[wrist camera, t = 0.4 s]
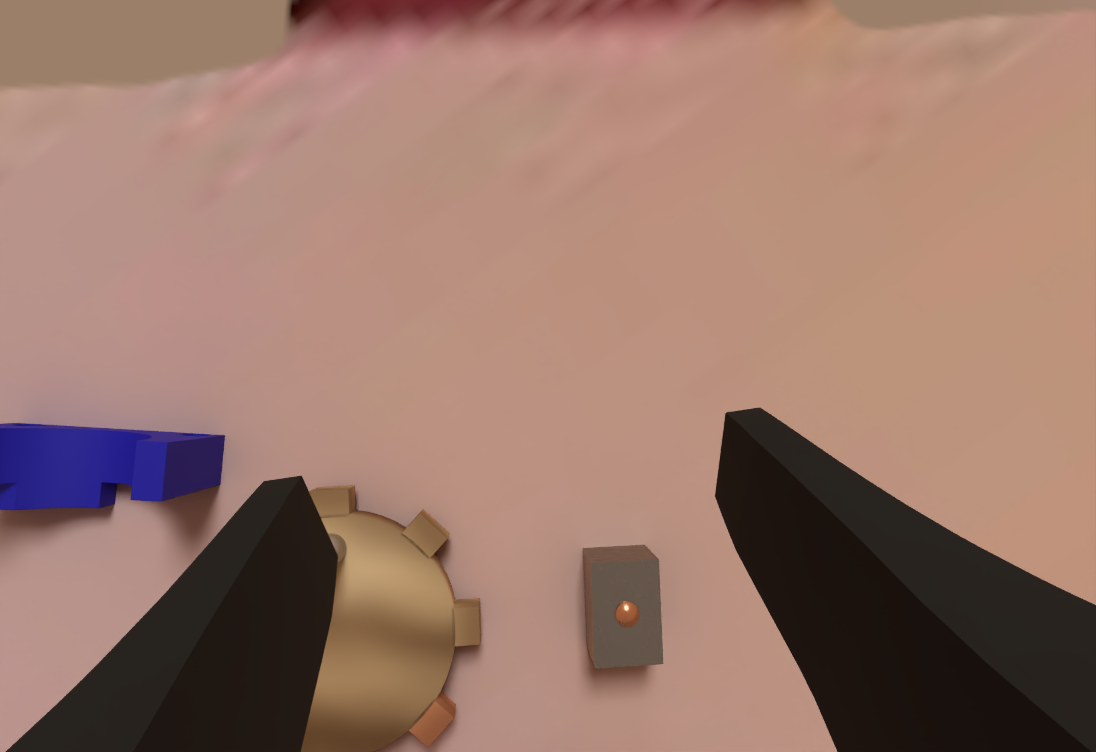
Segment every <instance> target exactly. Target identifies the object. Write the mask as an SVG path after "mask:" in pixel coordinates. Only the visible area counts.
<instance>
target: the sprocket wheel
mask: <svg viewBox="0 0 1096 752" xmlns="http://www.w3.org/2000/svg"><path fill="white" fill-rule="evenodd" d="M310 495H311V497H312V500H313V502H314V504H315V506H316V508H317V511H318V513H319V515H320V517H321V519H322V522H323V524H324V526H325V528H326V530H327V533H328V535H329V537H330V539H331V541H332V544H333V546H334V548H335V550H336V553H337V555H338V563H337V574H336V586H335V595H334V603H333V612H332V618H331V623H330V627H329V632H328V636H327V641H326V645H325V650H324V654H323V659H322V663H321V667H320V672H319V676H318V680H317V684H316V689H315V693H314V697H313V701H312V706H311V710H310V714H309V718H308V723H307V727H306V731H305V736H304V740H303V744H302V748H301V752H374V751H376V750H379V749H381V748H383V747H385V746H387V745H388V744H390V743H392V742H393V741H395V740H397V739H398V738H400V737H401V736H402V735H404V734H405V733H406V732H407V731H410V732H411V733H412V734H413V735H414V736H415V737H417V738H418V739H419V740H420V741H421V742H422V743H423V744H424V745H426V746H427V747H429V746H430V744H431V743H432V742H433V741H434V740H435V739H436V738H437V736H438V735H439V734H440V733H441V732H442V731H443V730H444V728H445V727H446V726H447V725H448V724H449V723H450V722H451V720H452V719H453V718H454V714H455V708H456V704H455V703H454V702H453V701H451V700H450V699H449V698H448V697H447V696H446V695H445V694H444V693H442V692H441V690H442V687H443V685H444V683H445V680H446V678H447V676H448V673H449V669H450V666H451V663H452V659H453V654H454V650H455V646H468V645H480V641H481V616H480V598H475V599H461V600H455V597H454V593H453V588H452V586H451V583H450V581H449V578H448V575H447V573H446V571H445V570H444V568H443V566H442V564H441V562H440V561H439V559H438V558H437V557H436V555H435V554H434V553H435V552H436V551H437V550H438V549H439V548H440V546H441V545H442V544H443V543H444V542H445V541H446V540H447V539H448V536H449V534H450V533H449V532H448V531H447V530H446V529H445V528H443V527H442V526H441V525H440V524H439V523H438V522H437V521H436V520H435V519H433V518H432V517H431V516H430V515H429V514H428V513H427V512H426V511H425V510H424V509H423V510H422V511H421V512H420V513H419V514H418V516H417V517H416V518H415V519H414V520H413V521H412V522H411V523H410V524H409V525H408V526H407V528H406V527H404V526H403V525H401V524H399V523H398V522H396V521H393V520H391V519H389V518H386V517H384V516H381V515H377V514H374V513H370V512H365V511H358V510H356V507H355V485H354V486H335V487H318V488H316V489H313V490H311V491H310Z"/></svg>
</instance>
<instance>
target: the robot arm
mask: <svg viewBox="0 0 1096 752" xmlns="http://www.w3.org/2000/svg"><path fill="white" fill-rule="evenodd" d="M715 497H716V500H717V503H718V505H719V508H720V511H721V513H722V516H723V519H724V522H725V524H726V527H727V529H728V532H729V534H730V537H731V539H732V542H733V544H734V547H735V549H736V551H737V553H738V555H739V557H740V559H741V560H742V562H743V564H744V566H745V568H746V570H747V572H748V574H749V576H750V577H751V579H752V581H753V583H754V585H755V587H756V589H757V591H758V592H759V594H760V596H761V598H762V600H763V602H764V603H765V605H766V607H767V609H768V611H769V613H770V615H771V616H772V618H773V620H774V622H775V624H776V626H777V627H778V629H779V631H780V633H781V635H782V637H783V639H784V640H785V642H786V644H787V646H788V648H789V650H790V651H791V653H792V655H793V657H794V659H795V661H796V663H797V664H798V666H799V668H800V670H801V672H802V674H803V676H804V678H805V680H806V682H807V684H808V686H809V688H810V690H811V692H812V694H813V696H814V698H815V701H816V703H817V705H818V707H819V710H820V712H821V714H822V717H823V719H824V721H825V724H826V726H827V728H828V731H829V733H830V735H831V738H832V740H833V742H834V745H835V747H836V749H837V752H1096V605H1094V604H1092V603H1090V602H1088V601H1086V600H1083V599H1081V598H1079V597H1077V596H1075V595H1073V594H1071V593H1069V592H1066V591H1064V590H1062V589H1060V588H1058V587H1056V586H1054V585H1052V584H1050V583H1048V582H1046V581H1044V580H1042V579H1040V578H1038V577H1036V576H1034V575H1032V574H1030V573H1028V572H1026V571H1024V570H1022V569H1020V568H1019V567H1017V566H1015V565H1013V564H1011V563H1009V562H1007V561H1005V560H1003V559H1001V558H999V557H997V556H996V555H994V554H992V553H990V552H988V551H986V550H984V549H982V548H980V547H978V546H977V545H975V544H973V543H971V542H969V541H968V540H966V539H964V538H962V537H960V536H959V535H957V534H955V533H953V532H952V531H950V530H948V529H946V528H945V527H943V526H941V525H940V524H938V523H936V522H935V521H933V520H931V519H930V518H928V517H926V516H924V515H923V514H921V513H919V512H918V511H916V510H914V509H913V508H911V507H909V506H908V505H906V504H904V503H903V502H901V501H900V500H898V499H896V498H895V497H893V496H892V495H890V494H888V493H887V492H885V491H884V490H882V489H880V488H879V487H877V486H876V485H874V484H873V483H871V482H870V481H868V480H867V479H865V478H863V477H862V476H860V475H859V474H857V473H856V472H854V471H853V470H851V469H850V468H848V467H847V466H845V465H844V464H842V463H841V462H839V461H838V460H836V459H835V458H833V457H832V456H831V455H829V454H828V453H826V452H825V451H823V450H822V449H820V448H819V447H817V446H816V445H814V444H813V443H812V442H810V441H809V440H807V439H806V438H804V437H803V436H801V435H800V434H799V433H797V432H796V431H794V430H793V429H791V428H790V427H788V426H787V425H785V424H784V423H783V422H781V421H780V420H778V419H777V418H775V417H774V416H772V415H771V414H769V413H768V412H766V411H764V410H763V409H761V408H753V409H747V410H740V411H733V412H727V413H726V414H725V422H724V430H723V438H722V446H721V454H720V461H719V469H718V477H717V485H716V493H715ZM337 563H338V555H337V553H336V550H335V548H334V546H333V544H332V541H331V539H330V537H329V535H328V533H327V530H326V528H325V526H324V524H323V522H322V519H321V517H320V515H319V513H318V511H317V508H316V506H315V504H314V502H313V500H312V497H311V495H310V493H309V491H308V489H307V486H306V484H305V482H304V480H303V478H302V476H296V477H289V478H283V479H276V480H269V481H264V482H263V483H262V484H261V485H260V486H259V487H258V488H257V489H256V490H255V492H254V493H253V494H252V495H251V496H250V497H249V498H248V499H247V501H246V502H245V503H244V504H243V505H242V506H241V507H240V509H239V510H238V511H237V512H236V513H235V514H234V516H233V517H232V518H231V519H230V520H229V521H228V522H227V524H226V525H225V526H224V527H223V528H222V529H221V531H220V532H219V533H218V534H217V535H216V536H215V538H214V539H213V540H212V541H211V542H210V543H209V544H208V546H207V547H206V548H205V549H204V550H203V551H202V552H201V554H200V555H199V556H198V557H197V558H196V559H195V560H194V561H193V563H192V564H191V565H190V566H189V567H188V568H187V569H186V570H185V572H184V573H183V574H182V575H181V576H180V577H179V578H178V579H177V581H176V582H175V583H174V584H173V585H172V586H171V587H170V588H169V590H168V591H167V592H166V593H165V594H164V595H163V596H162V597H161V598H160V600H159V601H158V602H157V603H156V604H155V605H154V606H153V607H152V608H151V609H150V610H149V611H148V612H147V613H146V614H145V615H144V616H143V617H142V618H141V619H140V620H139V622H138V623H137V624H136V625H135V626H134V627H133V628H132V629H131V630H130V631H129V632H128V633H127V634H126V635H125V636H124V637H123V638H122V639H121V640H120V641H119V642H118V644H117V645H116V646H115V647H114V648H113V649H112V650H111V651H110V652H109V653H108V654H107V655H106V656H105V657H104V658H103V659H102V660H101V661H100V662H99V663H98V664H97V665H96V666H95V667H94V668H93V669H92V670H91V671H90V672H89V673H88V674H87V675H86V676H85V677H84V678H83V679H82V680H81V681H80V682H79V683H78V684H77V685H76V686H75V687H74V688H73V689H72V690H71V691H70V692H69V693H68V694H67V695H66V696H65V697H64V698H63V699H62V700H61V701H60V702H59V703H58V704H57V705H56V706H54V707H53V708H52V709H51V710H50V711H49V712H48V713H47V714H46V715H45V716H44V717H43V718H41V719H40V720H39V721H38V722H37V723H36V724H35V725H34V726H33V727H32V728H31V729H30V730H29V731H27V732H26V733H25V734H24V735H23V736H22V737H21V738H20V739H19V740H18V741H17V742H16V743H15V744H13V745H12V746H11V747H10V748H9V749H8V750H7V751H6V752H301V748H302V744H303V740H304V736H305V731H306V727H307V723H308V718H309V714H310V710H311V706H312V701H313V697H314V693H315V689H316V684H317V680H318V676H319V672H320V667H321V663H322V659H323V654H324V650H325V645H326V641H327V636H328V632H329V627H330V623H331V618H332V612H333V603H334V595H335V586H336V574H337Z"/></svg>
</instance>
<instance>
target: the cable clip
mask: <svg viewBox="0 0 1096 752" xmlns="http://www.w3.org/2000/svg"><path fill="white" fill-rule="evenodd" d="M224 440H225V435H210V434H193V433H176V432H159V431H143V430H126V429H109V428H92V427H75V426H58V425H42V424H25V423H8V424H0V510H24V509H41V508H101V507H105V506H109V505H113V504H115V497H116V488H117V483H119V484H127V485H132V492H131V500H141V501H161V502H162V501H165V500H169V499H172V498H175V497H179V496H182V495H186V494H189V493H193V492H196V491H200V490H203V489H206V488H210V487H213V486H217V485H220V482H221V472H222V461H223V450H224Z"/></svg>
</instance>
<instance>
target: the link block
mask: <svg viewBox="0 0 1096 752" xmlns="http://www.w3.org/2000/svg"><path fill="white" fill-rule="evenodd" d="M583 559H584V586H585V614H586V641H587V647H588V650H589V652H590V655H591V658H592V661H593V664H594V667H595V669H601V668H615V667H629V666H642V665H656V664H663V648H662V624H661V600H660V576H659V559H658V558H657V557H656V556H655V555H654V554H653V553H652V552H651V551H650V550H649V549H648V548H647V547H646V546H645V545H632V546H614V547H596V548H583Z"/></svg>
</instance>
